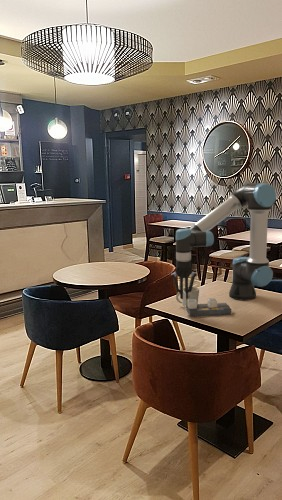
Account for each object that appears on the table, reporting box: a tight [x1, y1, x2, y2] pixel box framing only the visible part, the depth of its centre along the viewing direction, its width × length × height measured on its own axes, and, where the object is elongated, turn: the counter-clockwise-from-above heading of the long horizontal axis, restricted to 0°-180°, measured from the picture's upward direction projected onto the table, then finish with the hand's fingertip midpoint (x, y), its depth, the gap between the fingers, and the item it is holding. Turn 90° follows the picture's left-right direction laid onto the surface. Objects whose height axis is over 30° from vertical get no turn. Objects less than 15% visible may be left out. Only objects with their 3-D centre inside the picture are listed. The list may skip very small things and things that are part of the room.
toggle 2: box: [207, 297, 218, 308], centre depth 203 cm, size 4×4×4 cm
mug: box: [175, 286, 200, 309], centre depth 212 cm, size 8×13×10 cm, turn 78°
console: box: [186, 302, 232, 318], centre depth 203 cm, size 21×10×3 cm, turn 94°
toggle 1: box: [188, 299, 197, 309], centre depth 202 cm, size 4×4×4 cm
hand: (184, 304), depth 202 cm, fingers closed
